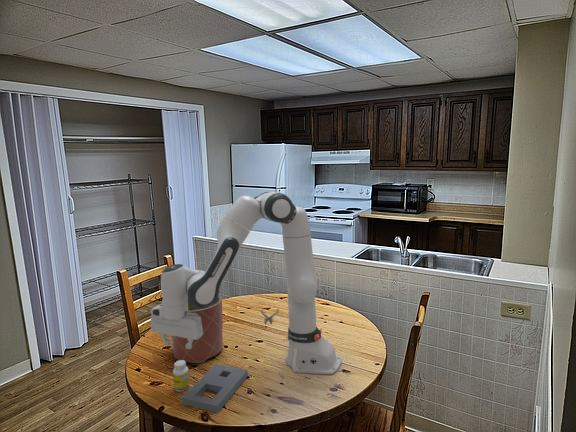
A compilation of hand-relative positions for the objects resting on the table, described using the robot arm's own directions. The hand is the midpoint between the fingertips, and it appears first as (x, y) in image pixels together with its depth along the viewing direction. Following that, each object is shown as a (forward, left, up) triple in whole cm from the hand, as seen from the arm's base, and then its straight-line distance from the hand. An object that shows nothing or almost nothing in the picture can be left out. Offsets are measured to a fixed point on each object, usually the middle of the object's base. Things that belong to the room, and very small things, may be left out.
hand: (177, 346), depth 132 cm
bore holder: (-13, -3, -16) cm, 21 cm away
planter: (+9, -24, -17) cm, 31 cm away
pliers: (-7, -68, -17) cm, 71 cm away
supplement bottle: (0, 0, -17) cm, 17 cm away
